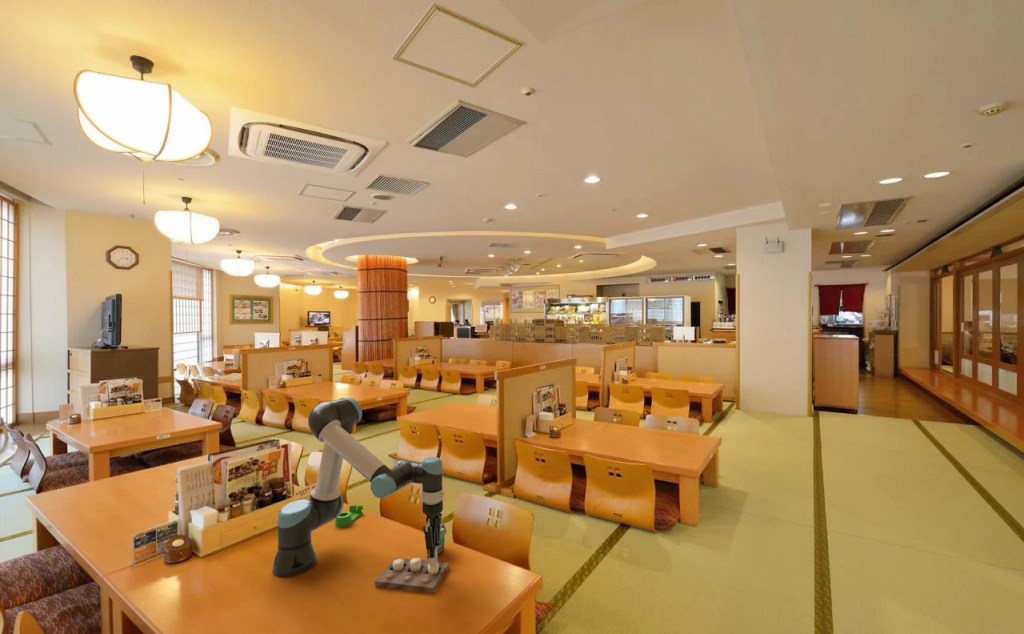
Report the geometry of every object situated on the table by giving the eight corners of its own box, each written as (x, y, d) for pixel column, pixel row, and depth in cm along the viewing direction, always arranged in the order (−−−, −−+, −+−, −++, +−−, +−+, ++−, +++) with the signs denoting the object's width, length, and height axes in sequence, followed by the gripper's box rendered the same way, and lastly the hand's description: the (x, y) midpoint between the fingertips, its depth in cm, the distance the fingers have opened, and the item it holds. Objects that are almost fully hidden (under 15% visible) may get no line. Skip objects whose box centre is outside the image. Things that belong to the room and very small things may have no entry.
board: (375, 586, 155) (375, 580, 155) (395, 562, 171) (395, 557, 171) (433, 593, 151) (433, 587, 151) (449, 568, 166) (449, 562, 166)
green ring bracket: (345, 528, 201) (345, 518, 201) (332, 527, 202) (332, 517, 202) (363, 514, 215) (363, 505, 215) (350, 513, 217) (350, 504, 217)
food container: (440, 561, 171) (440, 536, 171) (425, 560, 172) (425, 534, 172) (451, 545, 183) (450, 522, 183) (437, 544, 184) (437, 520, 184)
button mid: (408, 572, 161) (408, 563, 161) (412, 566, 165) (412, 557, 165) (418, 573, 160) (418, 564, 160) (422, 567, 164) (422, 558, 164)
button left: (390, 573, 162) (390, 564, 162) (395, 567, 166) (395, 558, 166) (400, 574, 162) (400, 565, 162) (405, 568, 166) (405, 559, 166)
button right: (426, 577, 160) (426, 567, 160) (430, 571, 164) (430, 561, 164) (436, 578, 159) (436, 568, 159) (440, 572, 163) (440, 562, 163)
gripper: (435, 508, 155) (436, 575, 154) (448, 494, 167) (448, 556, 167) (415, 507, 156) (416, 573, 156) (429, 493, 169) (430, 554, 168)
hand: (433, 564), depth 161 cm, fingers closed
